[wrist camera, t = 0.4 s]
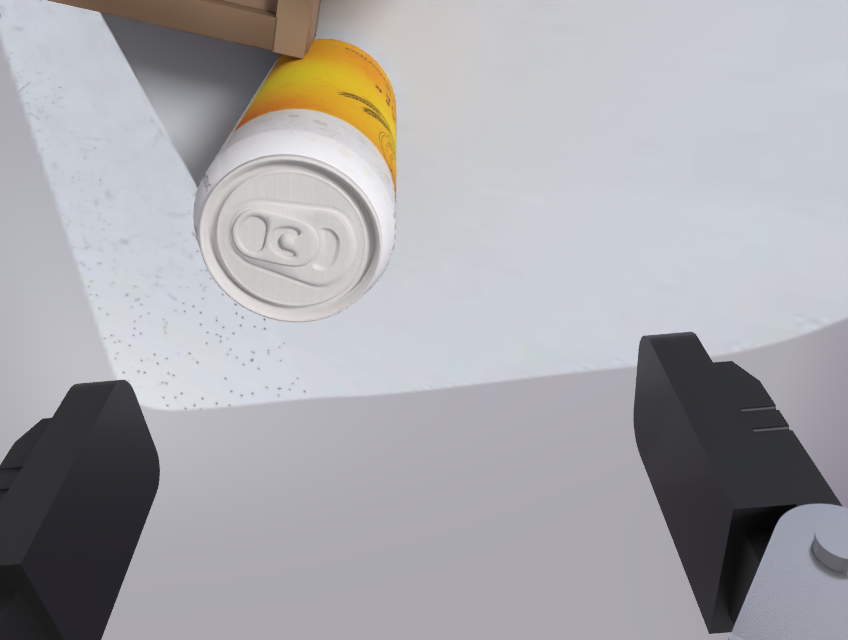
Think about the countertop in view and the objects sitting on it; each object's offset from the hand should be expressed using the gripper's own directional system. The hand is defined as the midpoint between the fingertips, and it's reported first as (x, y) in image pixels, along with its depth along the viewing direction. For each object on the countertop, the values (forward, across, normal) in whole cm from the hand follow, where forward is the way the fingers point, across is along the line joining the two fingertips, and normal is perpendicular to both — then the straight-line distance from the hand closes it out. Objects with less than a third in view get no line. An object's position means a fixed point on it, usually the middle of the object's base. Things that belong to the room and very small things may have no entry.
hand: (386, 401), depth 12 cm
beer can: (+25, +3, +2) cm, 26 cm away
